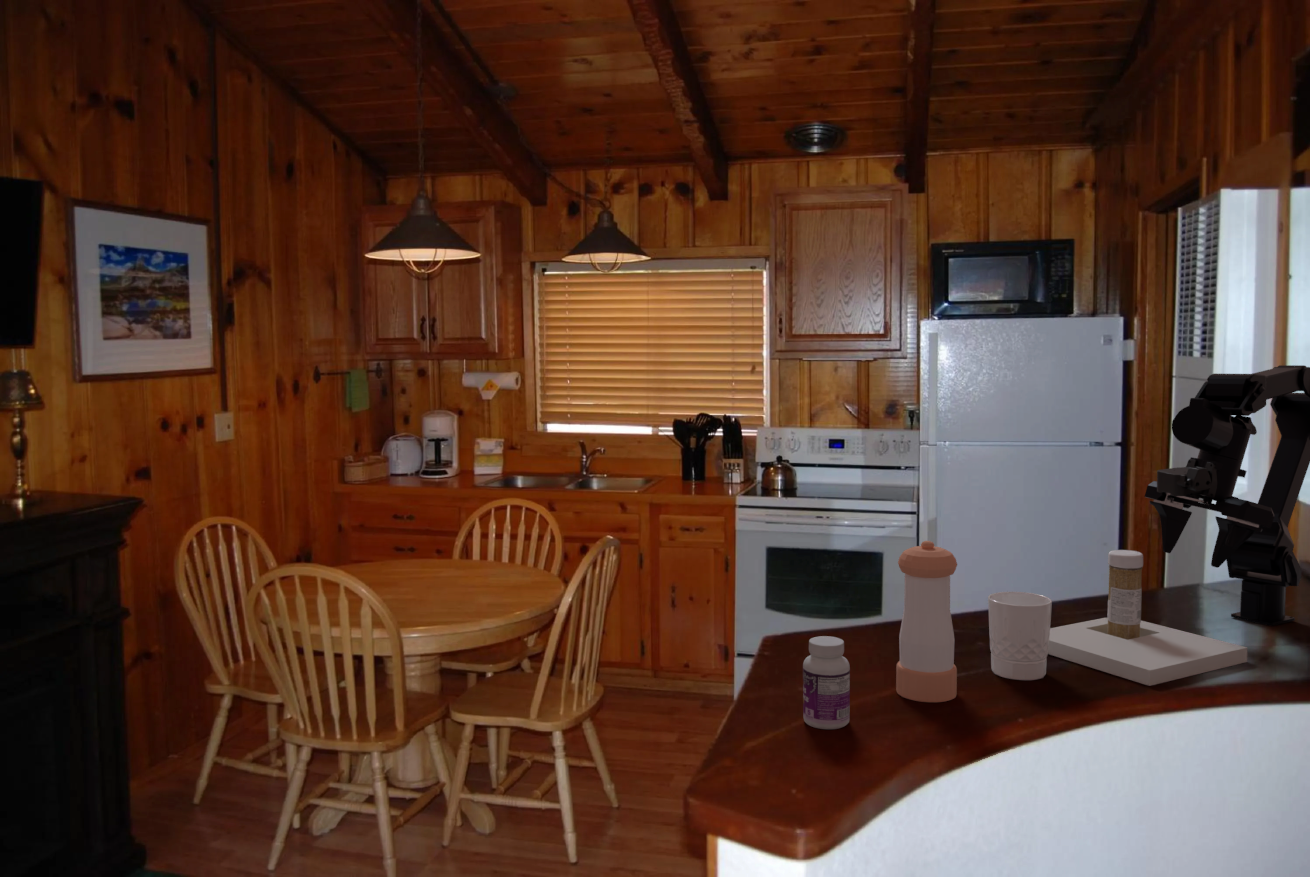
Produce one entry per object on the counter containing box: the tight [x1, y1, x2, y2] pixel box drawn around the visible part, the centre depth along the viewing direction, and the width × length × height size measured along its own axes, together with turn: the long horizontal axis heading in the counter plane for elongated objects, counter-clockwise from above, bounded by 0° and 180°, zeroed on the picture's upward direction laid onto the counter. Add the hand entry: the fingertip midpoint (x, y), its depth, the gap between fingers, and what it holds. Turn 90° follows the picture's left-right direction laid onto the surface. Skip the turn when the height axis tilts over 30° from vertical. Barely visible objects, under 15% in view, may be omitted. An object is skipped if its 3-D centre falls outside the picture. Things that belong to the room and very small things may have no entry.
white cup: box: [987, 591, 1053, 681], centre depth 135 cm, size 8×8×10 cm
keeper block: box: [1048, 617, 1248, 686], centre depth 142 cm, size 20×20×2 cm
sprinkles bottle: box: [1107, 549, 1144, 640], centre depth 147 cm, size 5×5×13 cm
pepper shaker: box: [895, 540, 958, 703], centre depth 127 cm, size 7×7×19 cm
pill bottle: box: [802, 635, 851, 730], centre depth 118 cm, size 5×5×10 cm
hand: (1189, 559), depth 150 cm, fingers open, 9 cm apart
